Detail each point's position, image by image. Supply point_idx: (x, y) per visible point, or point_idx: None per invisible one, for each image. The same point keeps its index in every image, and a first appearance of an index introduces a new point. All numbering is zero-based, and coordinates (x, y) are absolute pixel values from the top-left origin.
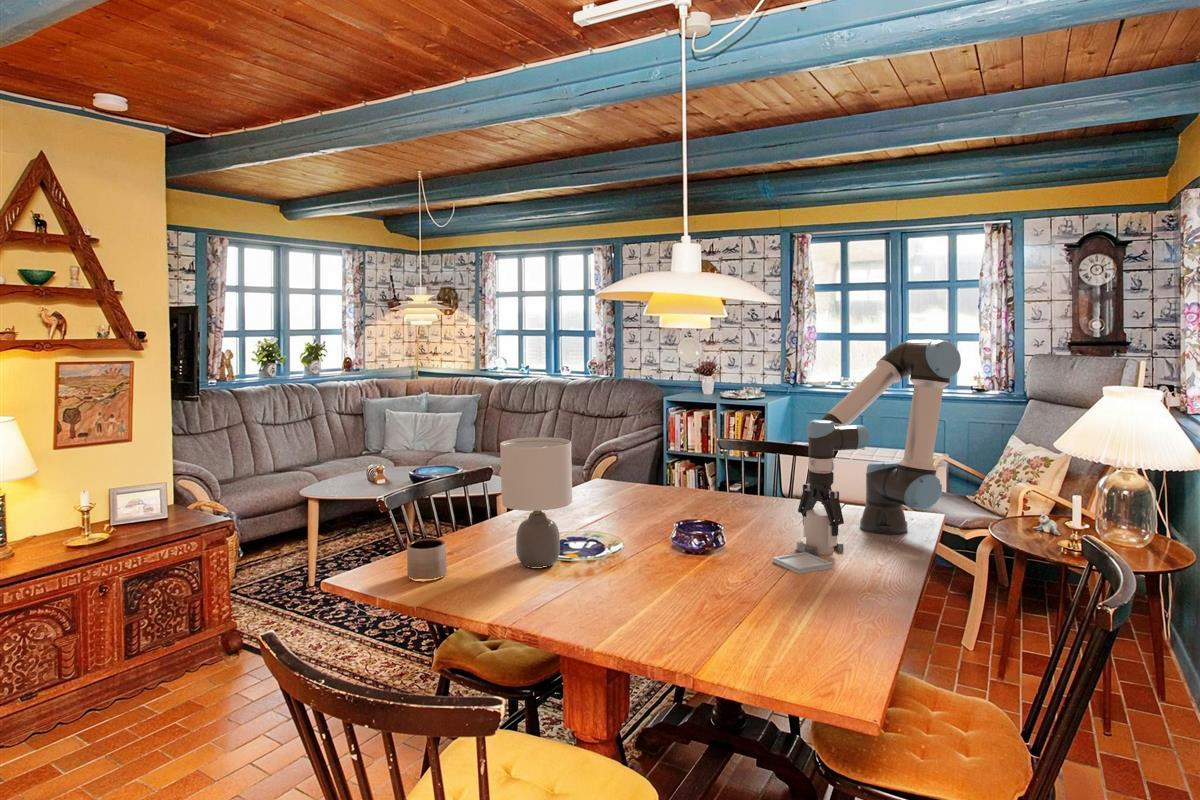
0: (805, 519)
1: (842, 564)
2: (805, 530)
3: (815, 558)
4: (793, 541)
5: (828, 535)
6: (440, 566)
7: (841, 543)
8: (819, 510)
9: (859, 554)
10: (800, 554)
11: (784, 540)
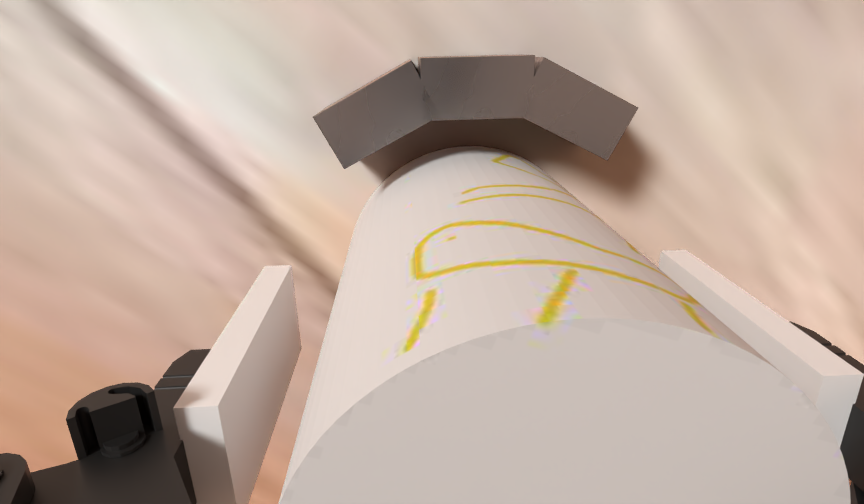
0: (249, 486)
1: (826, 329)
2: (286, 384)
3: None
4: (138, 300)
5: None
6: None
7: (618, 118)
8: (408, 501)
9: (748, 9)
10: None
11: (86, 350)
